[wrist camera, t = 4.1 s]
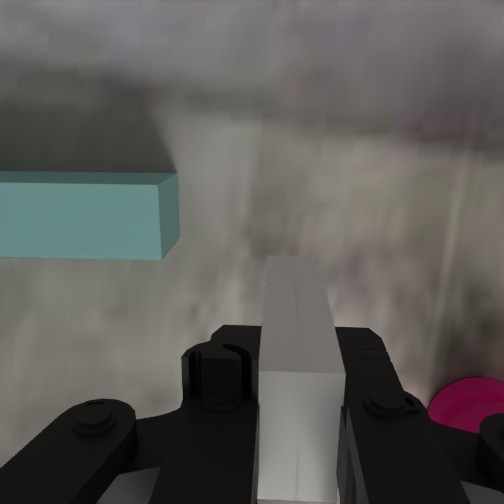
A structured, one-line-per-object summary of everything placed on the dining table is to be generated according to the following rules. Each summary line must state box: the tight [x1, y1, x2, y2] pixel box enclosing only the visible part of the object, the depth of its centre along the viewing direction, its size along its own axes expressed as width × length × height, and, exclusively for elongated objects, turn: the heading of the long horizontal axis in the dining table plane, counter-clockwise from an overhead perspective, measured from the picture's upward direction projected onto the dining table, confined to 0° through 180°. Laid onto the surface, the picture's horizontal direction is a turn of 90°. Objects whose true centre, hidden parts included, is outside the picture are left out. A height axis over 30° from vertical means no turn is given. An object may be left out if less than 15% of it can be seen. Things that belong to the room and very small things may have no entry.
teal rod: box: [0, 171, 180, 260], centre depth 28 cm, size 18×4×5 cm, turn 90°
